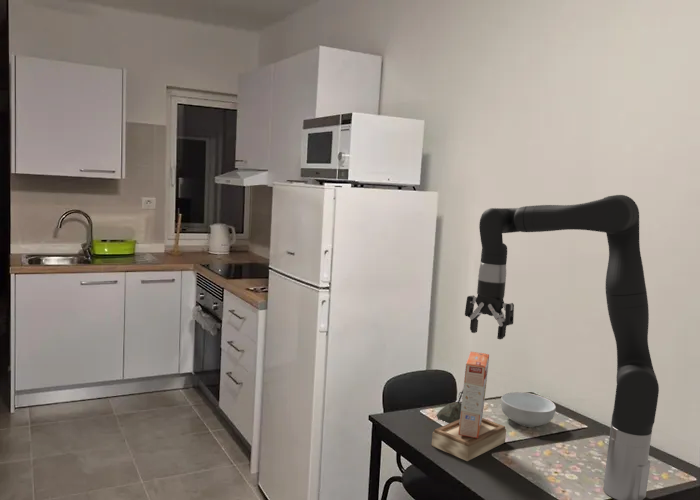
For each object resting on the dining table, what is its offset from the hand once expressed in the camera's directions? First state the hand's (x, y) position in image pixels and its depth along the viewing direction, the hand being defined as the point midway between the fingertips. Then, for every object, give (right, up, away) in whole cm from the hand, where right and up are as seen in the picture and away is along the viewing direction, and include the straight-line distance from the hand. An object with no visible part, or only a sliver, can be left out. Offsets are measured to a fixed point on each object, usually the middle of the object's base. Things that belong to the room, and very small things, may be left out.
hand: (486, 335), depth 173 cm
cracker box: (-4, -27, +3) cm, 28 cm away
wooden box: (-4, -32, +3) cm, 32 cm away
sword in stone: (-6, -30, +22) cm, 38 cm away
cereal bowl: (+18, -31, +24) cm, 43 cm away
